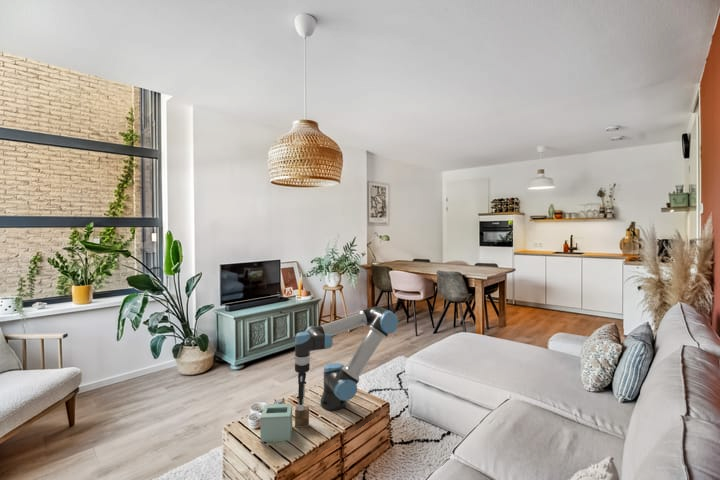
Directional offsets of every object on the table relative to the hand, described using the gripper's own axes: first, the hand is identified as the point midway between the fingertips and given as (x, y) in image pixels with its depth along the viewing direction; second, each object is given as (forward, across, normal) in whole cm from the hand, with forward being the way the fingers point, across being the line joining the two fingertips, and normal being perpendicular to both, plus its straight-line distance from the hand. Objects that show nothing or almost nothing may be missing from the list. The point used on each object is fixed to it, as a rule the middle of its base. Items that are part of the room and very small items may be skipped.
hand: (301, 403), depth 180 cm
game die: (+12, -12, -12) cm, 21 cm away
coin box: (+12, +6, -12) cm, 18 cm away
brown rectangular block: (+12, 0, 0) cm, 12 cm away
